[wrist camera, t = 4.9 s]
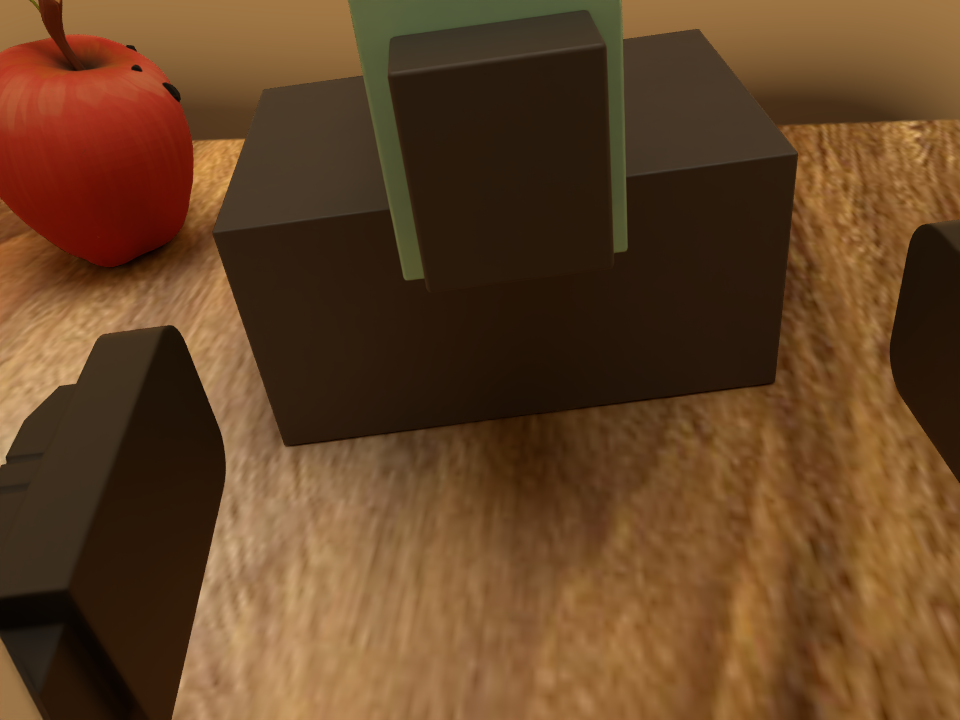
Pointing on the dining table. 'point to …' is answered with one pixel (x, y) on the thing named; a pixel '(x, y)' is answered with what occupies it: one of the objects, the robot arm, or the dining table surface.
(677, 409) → the dining table surface
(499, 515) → the dining table surface
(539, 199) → the green block
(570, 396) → the stand
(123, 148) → the apple
